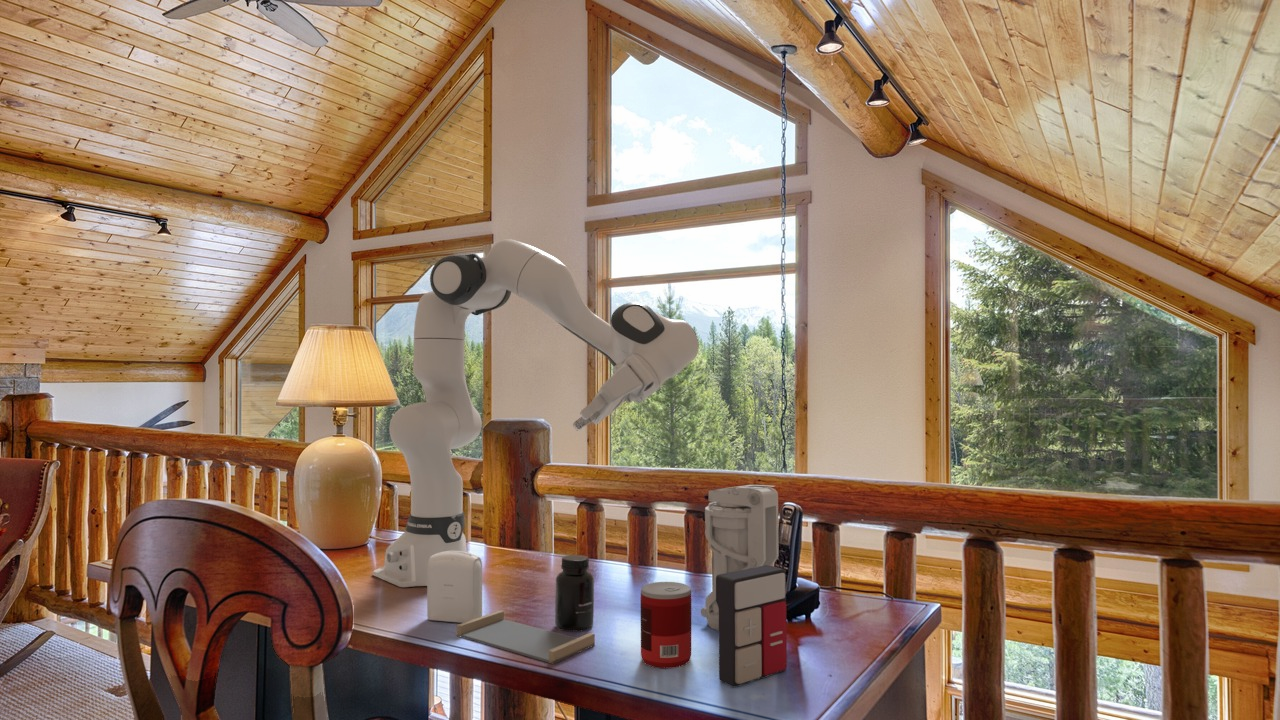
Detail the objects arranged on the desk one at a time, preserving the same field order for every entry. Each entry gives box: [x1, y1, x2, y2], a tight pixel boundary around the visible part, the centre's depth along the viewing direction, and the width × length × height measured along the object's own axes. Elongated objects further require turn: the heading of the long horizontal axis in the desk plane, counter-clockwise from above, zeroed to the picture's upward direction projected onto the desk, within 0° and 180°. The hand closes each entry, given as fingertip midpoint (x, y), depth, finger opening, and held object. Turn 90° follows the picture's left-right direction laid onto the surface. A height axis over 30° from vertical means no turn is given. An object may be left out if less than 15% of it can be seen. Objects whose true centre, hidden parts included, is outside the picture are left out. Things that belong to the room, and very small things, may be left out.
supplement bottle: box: [554, 554, 595, 632], centre depth 129 cm, size 7×7×12 cm
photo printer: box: [426, 551, 483, 624], centre depth 133 cm, size 10×4×12 cm, turn 74°
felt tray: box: [456, 609, 596, 665], centre depth 122 cm, size 22×10×2 cm, turn 55°
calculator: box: [716, 565, 788, 688], centre depth 107 cm, size 11×4×15 cm, turn 126°
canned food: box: [640, 581, 692, 669], centre depth 113 cm, size 8×8×11 cm
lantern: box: [700, 484, 779, 632], centre depth 130 cm, size 13×10×25 cm
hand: (578, 421), depth 138 cm, fingers open, 8 cm apart
